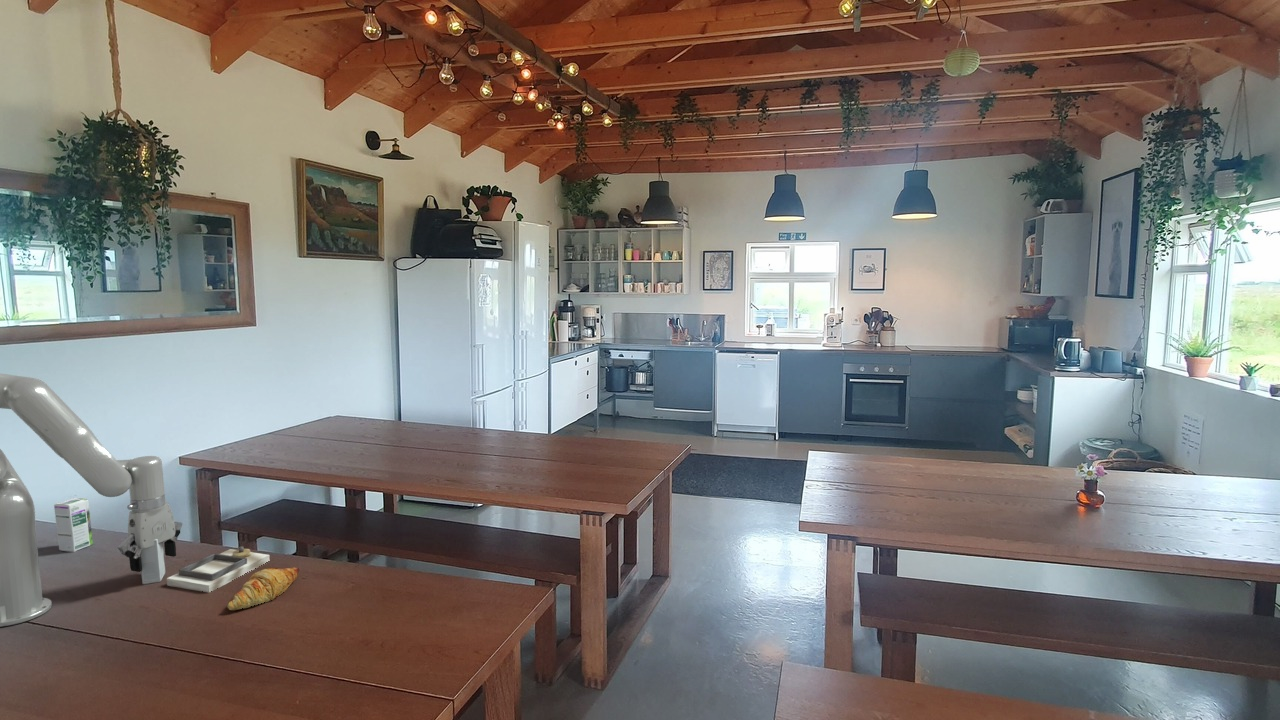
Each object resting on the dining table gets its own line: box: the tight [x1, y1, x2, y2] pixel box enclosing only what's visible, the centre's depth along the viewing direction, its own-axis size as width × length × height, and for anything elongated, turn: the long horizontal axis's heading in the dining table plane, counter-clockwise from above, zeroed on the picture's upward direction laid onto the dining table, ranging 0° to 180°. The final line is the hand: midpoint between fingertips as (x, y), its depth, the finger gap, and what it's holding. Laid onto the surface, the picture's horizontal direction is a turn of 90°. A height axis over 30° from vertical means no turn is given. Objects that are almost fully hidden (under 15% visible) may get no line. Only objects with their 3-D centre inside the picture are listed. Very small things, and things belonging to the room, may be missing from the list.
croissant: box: [226, 567, 300, 611], centre depth 174 cm, size 21×10×8 cm, turn 163°
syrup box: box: [53, 497, 94, 553], centre depth 200 cm, size 6×6×14 cm
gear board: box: [166, 545, 271, 593], centre depth 185 cm, size 20×14×5 cm
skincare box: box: [139, 539, 166, 585], centre depth 181 cm, size 6×4×12 cm
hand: (154, 563), depth 181 cm, fingers open, 9 cm apart
